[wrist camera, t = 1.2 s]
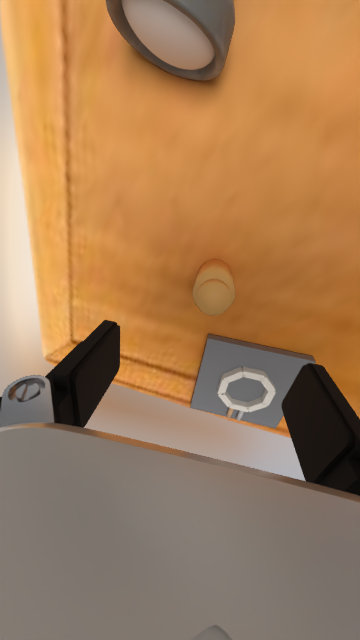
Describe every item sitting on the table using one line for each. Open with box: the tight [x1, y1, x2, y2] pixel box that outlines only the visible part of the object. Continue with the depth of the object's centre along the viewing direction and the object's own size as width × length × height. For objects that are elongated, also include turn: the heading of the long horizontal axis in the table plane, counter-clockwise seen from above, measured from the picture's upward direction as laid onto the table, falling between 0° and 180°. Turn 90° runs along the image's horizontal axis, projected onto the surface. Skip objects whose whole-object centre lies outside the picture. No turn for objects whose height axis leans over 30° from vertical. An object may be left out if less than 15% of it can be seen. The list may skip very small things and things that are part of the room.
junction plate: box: [190, 334, 316, 428], centre depth 31 cm, size 14×14×2 cm
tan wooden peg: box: [192, 259, 235, 315], centre depth 22 cm, size 4×4×8 cm
